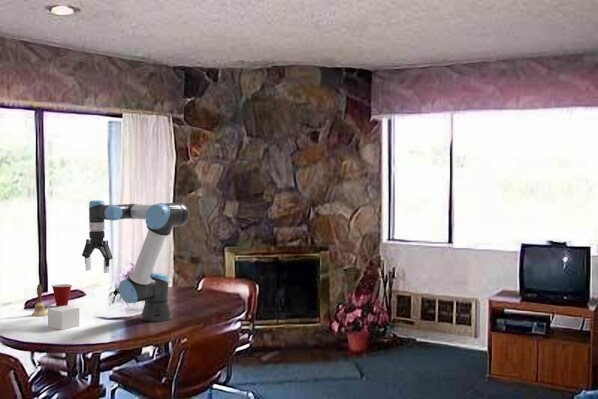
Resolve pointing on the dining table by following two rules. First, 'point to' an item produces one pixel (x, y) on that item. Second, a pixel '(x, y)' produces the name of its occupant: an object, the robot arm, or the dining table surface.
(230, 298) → the dining table surface
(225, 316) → the dining table surface
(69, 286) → the plastic cup
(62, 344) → the dining table surface
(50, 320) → the white box
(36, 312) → the hand bell
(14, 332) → the dining table surface
